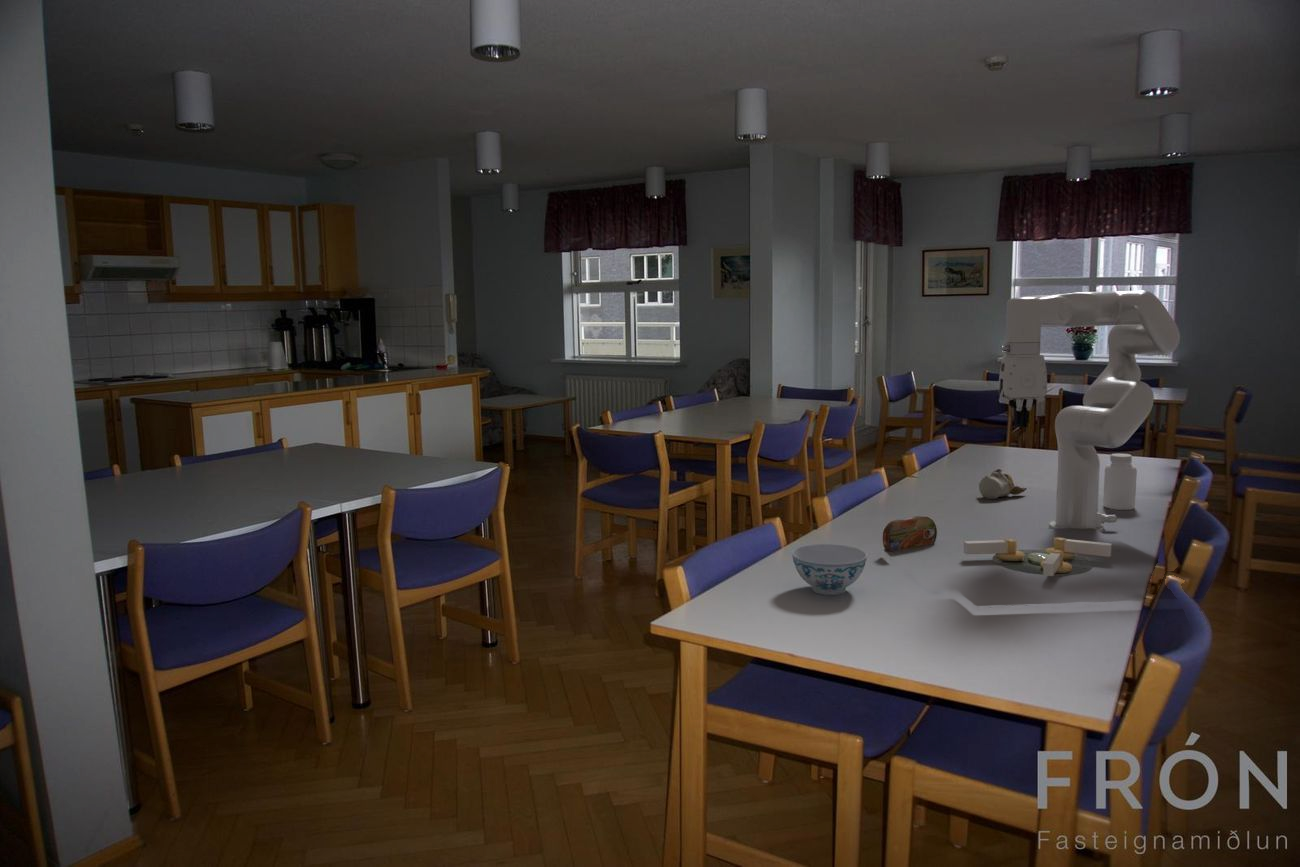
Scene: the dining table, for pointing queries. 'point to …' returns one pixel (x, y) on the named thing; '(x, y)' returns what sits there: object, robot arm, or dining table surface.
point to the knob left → (995, 549)
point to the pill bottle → (1120, 483)
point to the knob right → (1080, 548)
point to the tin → (909, 533)
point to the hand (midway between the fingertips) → (1021, 426)
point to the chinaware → (829, 566)
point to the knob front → (1055, 564)
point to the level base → (1034, 563)
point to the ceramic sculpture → (998, 485)
